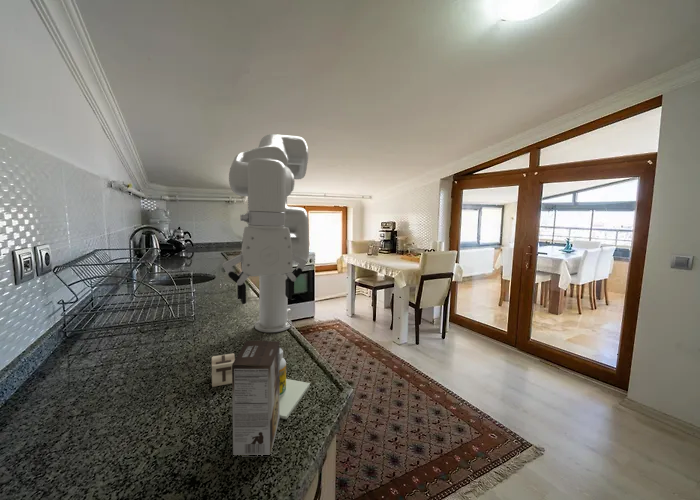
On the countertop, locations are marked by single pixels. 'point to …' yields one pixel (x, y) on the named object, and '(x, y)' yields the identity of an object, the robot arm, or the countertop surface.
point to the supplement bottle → (282, 374)
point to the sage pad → (291, 397)
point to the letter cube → (222, 369)
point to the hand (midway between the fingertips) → (266, 299)
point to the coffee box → (256, 397)
